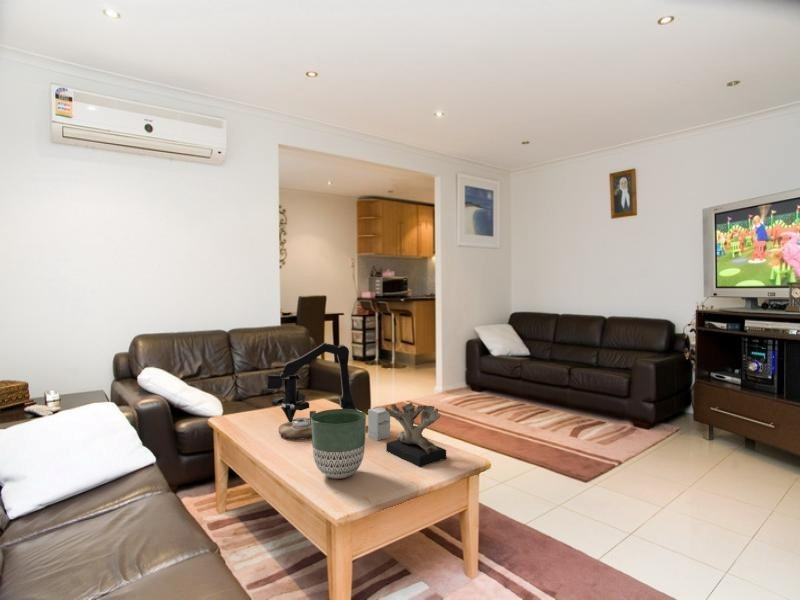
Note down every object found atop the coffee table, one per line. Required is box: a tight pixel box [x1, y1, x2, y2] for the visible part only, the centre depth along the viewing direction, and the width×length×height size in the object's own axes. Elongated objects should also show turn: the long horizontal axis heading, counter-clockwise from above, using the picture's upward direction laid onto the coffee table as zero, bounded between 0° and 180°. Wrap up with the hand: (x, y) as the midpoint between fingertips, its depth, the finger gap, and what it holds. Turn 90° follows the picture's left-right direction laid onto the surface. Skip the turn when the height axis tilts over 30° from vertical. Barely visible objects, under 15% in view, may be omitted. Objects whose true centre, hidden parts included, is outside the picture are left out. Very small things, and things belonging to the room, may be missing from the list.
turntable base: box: [283, 435, 312, 440], centre depth 209 cm, size 16×16×1 cm
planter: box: [311, 408, 367, 480], centre depth 161 cm, size 20×20×21 cm
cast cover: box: [292, 417, 310, 429], centre depth 208 cm, size 8×8×3 cm
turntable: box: [278, 410, 317, 437], centre depth 209 cm, size 20×20×7 cm
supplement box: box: [367, 406, 391, 442], centre depth 203 cm, size 7×7×13 cm
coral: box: [383, 402, 447, 468], centre depth 178 cm, size 25×20×22 cm
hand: (290, 421), depth 212 cm, fingers closed
